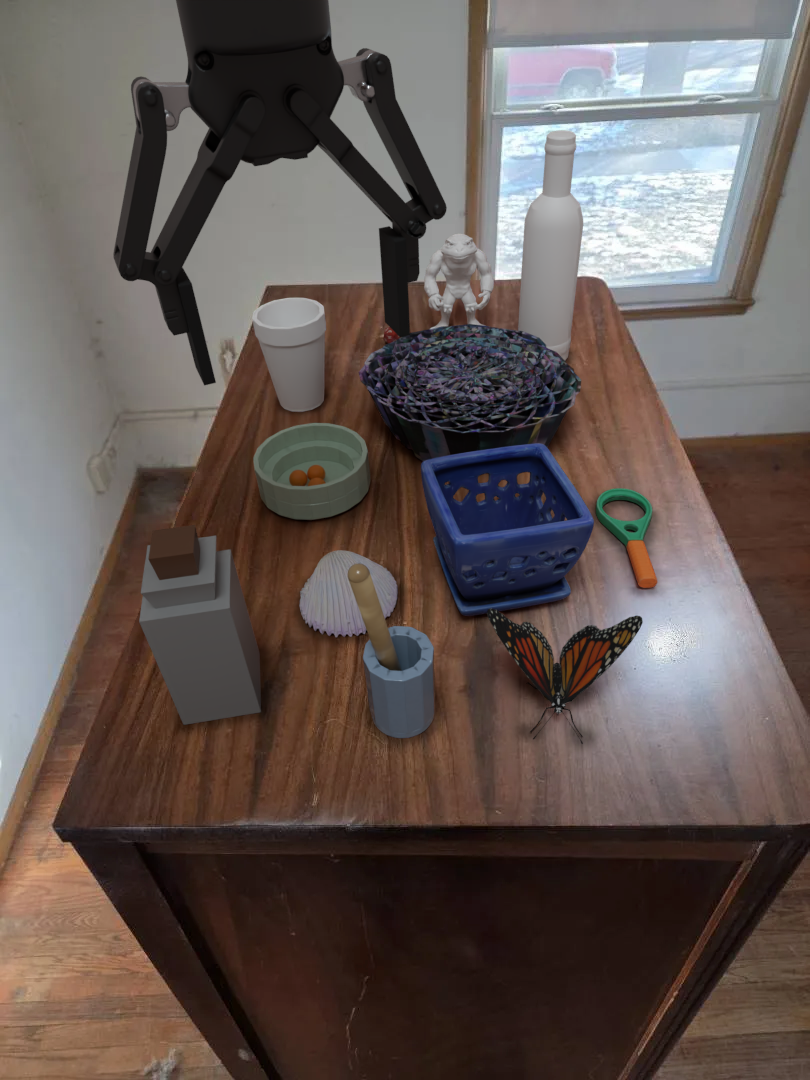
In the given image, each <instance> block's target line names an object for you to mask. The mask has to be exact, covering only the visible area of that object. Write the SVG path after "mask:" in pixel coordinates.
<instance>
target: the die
mask: <svg viewBox="0 0 810 1080" xmlns="http://www.w3.org/2000/svg"><path fill="white" fill-rule="evenodd" d="M399 338H401V337H399V336H398V335H397V334H396V333H395V332H394V331H393V330H392V329H391V328H390V327H389V326H388V327H385V328H384V330H383V338H382V340H383V342H386V343H387V344H389V343H391V342H394V341H396V340H397V339H399Z"/></svg>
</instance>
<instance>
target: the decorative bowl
mask: <svg viewBox="0 0 810 1080" xmlns="http://www.w3.org/2000/svg"><path fill="white" fill-rule="evenodd" d="M483 325H484V324H482V325H474V324H457V325H451V326H450V325H448V326H442V327H438V328H433V329H430V328H429V329H423V330H418V331H411V332H410V335H408V336H404V337H401V338H399V339H397V340H396V341H394V342H391V343H389V344H388V343H387V344H384V345H383V347H382V348H379V349H377V350H375V351H373V352H371V353H370V354H369V356H368V357H367V358H366V360H365V361H364V365H362V368H361V369H360V370H359V371H358V376H359V381H360V382H361V383H362V384H363V385H364V386H365V387H366V389H367V392H368V393H369V395H370V397H371V399H372V401H373V404H374V405H375V407H376V409H377V411H378V413H379V415H380V418H381V419H382V421H383V423H384V424H385V426H387V427H388V429H389V430H390V432H391V433H392V435H393V437H394V438H396V440H399V442H400V443H401V444H402V445H403V446H405V448H407V449H408V450H412V452H413V453H414V457H416V458H417V459H418V460H420V461H422V462H423V461H425V460H429V459H433V458H438V457H442V456H448V455H454V454H460V453H466V452H472V451H479V450H486V449H494V448H500V447H508V446H516V445H525V444H535V443H540V444H544V445H545V446H546V447H547V448H549V446H550V444H551V442H552V440H553V438H554V437H555V435H556V433H557V431H558V429H559V428H560V426H561V424H562V422H563V420H564V418H565V417H566V415H567V413H568V411H569V409H570V408H572V407H573V406H575V404H576V397H577V395H578V394H579V393H580V392H581V390H582V378H580V376H579V375H577V374H576V372H575V369H574V368H573V367H572V366H570V365H569V364H568V363H567V361H566V360H564V359H563V358H562V357H561V356H560V355H559V354H558V353H557V352H556V351H553V350H550V349H548V348H547V347H546V344H545V343H544V342H543V341H542V340H541V339H540V338H539V337H536V336H534V335H531V334H529V333H526V332H524V331H518V329H516V330H515V329H509V328H504V327H495V326H489V325H485V326H483Z"/></svg>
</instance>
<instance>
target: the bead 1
mask: <svg viewBox="0 0 810 1080" xmlns="http://www.w3.org/2000/svg"><path fill="white" fill-rule="evenodd" d="M307 481H308V477H307V474H306V473H305V472H304V471H302V470H295V471H293V472H292V473H291V474H290V476H289V482H290V484H291V485H292V486H305V485H306V484H307Z"/></svg>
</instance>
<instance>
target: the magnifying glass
mask: <svg viewBox="0 0 810 1080" xmlns="http://www.w3.org/2000/svg"><path fill="white" fill-rule="evenodd" d="M619 500H620V501H628V502H631V503H634V504H636V505H637V506H640V507H641V508H642V510H643V511H644V515H643V516H642V517H640V518H638V519H633V520H622V519H618V518H614V517H612V516H611V515H609V514H607V513H606V511H604V508H603V507H604V506H605V505H606V504H607V503H610V502H613V501H619ZM595 503H596V504H595V516H596V518H597V520H598V521H599V522H600V523H601V524H602V525H603V527H605V528H606V529H607V530H608V531H609V532H610V533H612V535H613V536H615V538H617V539H618V540H619V541H620V542H621V543H622V544H623V545H624V546H625V548H626V551H627V555H628V557H629V560H630V563H631V566H632V570H633V573H634V575H635V579H636V582H637V585H638V586H639V587H640V588H643V589H649V588H654V587H655V586H657V584H658V583H659V582H658V578H657V574H656V572H655V569H654V567H653V564H652V560H651V558H650V555H649V553H648V550H647V546H646V543H645V541H644V538H645V535H646V534H647V532H648V530H649V527H650V524H651V522H652V521H651V520H652V516H653V506H652V503H651V502H650V501H649V499H648V498H647V497H646V496H644V495H643V494H641V493H640V492H637V491H635V490H634V489H630V488H625V487H624V488H621V487H619V488H616V487H615V488H609V489H607V490H605V491H604V492H602V493H600V494H599V496H598V498H597V500H596V502H595ZM628 530H630V531H628ZM631 530H632V531H634V532H631Z"/></svg>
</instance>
